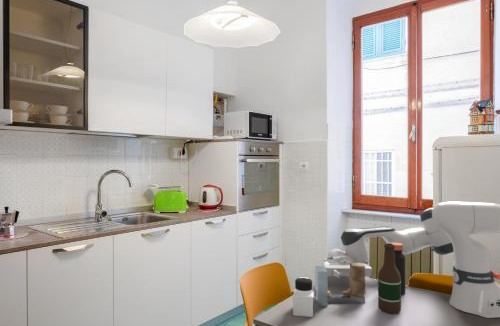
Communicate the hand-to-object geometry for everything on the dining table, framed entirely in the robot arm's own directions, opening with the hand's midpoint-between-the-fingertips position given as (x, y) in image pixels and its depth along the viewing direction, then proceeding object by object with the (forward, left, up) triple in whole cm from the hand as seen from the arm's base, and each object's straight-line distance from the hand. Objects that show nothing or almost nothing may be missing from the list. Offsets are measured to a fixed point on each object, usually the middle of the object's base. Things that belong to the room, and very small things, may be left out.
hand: (351, 276), depth 137 cm
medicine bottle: (+22, +16, -8) cm, 28 cm away
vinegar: (-19, -4, -8) cm, 21 cm away
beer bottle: (-10, +14, -8) cm, 19 cm away
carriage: (+1, +6, -5) cm, 8 cm away
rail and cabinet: (+6, +8, -8) cm, 13 cm away
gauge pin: (+13, +6, -5) cm, 15 cm away
